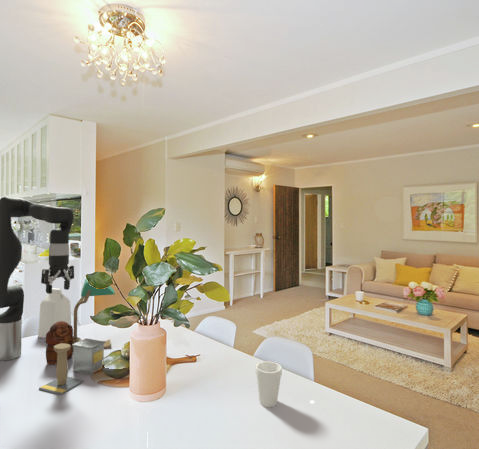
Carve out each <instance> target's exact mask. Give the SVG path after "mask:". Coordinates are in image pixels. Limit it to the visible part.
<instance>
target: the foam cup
mask: <svg viewBox="0 0 479 449" xmlns="http://www.w3.org/2000/svg"><path fill="white" fill-rule="evenodd" d="M282 369H283V368H282V366H281V364H279V363H277V362H275V361H268V360H267V361H261V362H258V363H256V365H255V375H256V384H257V392H258V401H259V404H260V405H261V406H262V407H265V408H273V407H275V406H276V405H277V403H278V396H279V390H280V384H281V379H282V373H283V372H282V371H283V370H282Z"/></svg>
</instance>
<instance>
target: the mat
mask: <svg viewBox="0 0 479 449" xmlns="http://www.w3.org/2000/svg"><path fill="white" fill-rule="evenodd" d="M66 380H67V382H66V384H64V385H58V382H57V378H55V379H53V380H52V381H50V382H47V383H46V384H44V385H42V386H40V387H38V390H39V391H43V392H47V393H51V394H56V395H58V396H61V395H64V394H65V393H67V392H69V391H71V390H72V389H74V388H76V387H77V386H80V384H82V383H84V382H85V380H84V379H81V378H76V377H72V376H68V375H67V379H66Z"/></svg>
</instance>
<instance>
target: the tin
mask: <svg viewBox="0 0 479 449" xmlns="http://www.w3.org/2000/svg"><path fill="white" fill-rule="evenodd" d="M104 341H105V340H99V339H91V338H83V339H81V341H79V342H76V343H74V344H72V346H73V353H72V355H73V357H72V362H73V363H72V364H73V365H72V371H73V372H76V373H81V374H85V375H88V376H89V375H91V376H92V375H94V374H95V373H94V372H95V371H97V370H98V369H100V368H101V367H102V360H103V359H104V360H105V358H104V357H105V355H104V354H105V352H104V351H105V349H104V343H105V342H104ZM97 372H98V371H97ZM93 373H94V374H93Z"/></svg>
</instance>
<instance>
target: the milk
mask: <svg viewBox="0 0 479 449" xmlns="http://www.w3.org/2000/svg"><path fill="white" fill-rule="evenodd" d="M71 310H72V309H71V301H70V299H69V298H68V297H67V296H65V295H64V294H63V291H62V289H61V288H53V287H52V293H51V294H48V293H47V295H46V296H45V297H44V299H43V300H41V302H40V305H39V316H38V317H39V318H38V329H37V330H38V331H37V337H39V338H43V339H46V334H47V332H48V331H50V327H51V326H52V325H53V324H55V323H56V322H59V321H64V322H67V323H68V324H69V325H71V326H72V311H71Z"/></svg>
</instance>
